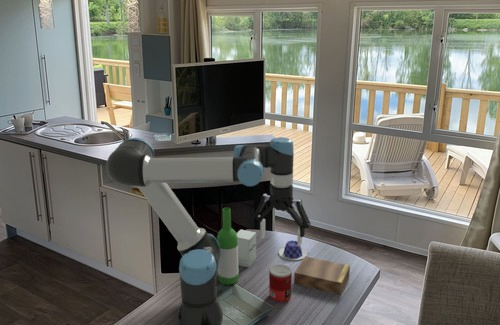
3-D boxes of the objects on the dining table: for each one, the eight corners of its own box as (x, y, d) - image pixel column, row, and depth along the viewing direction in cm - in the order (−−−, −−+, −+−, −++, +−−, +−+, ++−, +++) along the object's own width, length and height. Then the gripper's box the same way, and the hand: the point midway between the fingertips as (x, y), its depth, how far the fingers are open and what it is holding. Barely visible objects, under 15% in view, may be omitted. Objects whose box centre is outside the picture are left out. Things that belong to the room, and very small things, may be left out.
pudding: (302, 264, 192) (302, 252, 191) (274, 258, 197) (274, 247, 195) (310, 250, 203) (311, 239, 201) (284, 245, 207) (284, 234, 206)
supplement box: (249, 268, 189) (248, 240, 185) (232, 264, 192) (232, 236, 188) (256, 259, 195) (256, 232, 191) (240, 255, 199) (240, 228, 194)
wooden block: (294, 284, 178) (294, 271, 176) (304, 267, 189) (305, 255, 187) (341, 295, 171) (341, 282, 169) (349, 277, 182) (350, 265, 180)
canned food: (289, 303, 166) (290, 276, 163) (267, 301, 168) (267, 274, 164) (292, 291, 173) (292, 265, 170) (271, 289, 175) (271, 263, 171)
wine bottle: (222, 273, 185) (219, 203, 176) (241, 276, 184) (239, 205, 174) (215, 284, 178) (212, 212, 169) (235, 287, 176) (233, 214, 167)
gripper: (321, 185, 155) (318, 242, 162) (251, 175, 165) (252, 230, 172) (314, 193, 149) (312, 252, 155) (242, 182, 158) (243, 238, 165)
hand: (280, 240), depth 163 cm, fingers open, 13 cm apart
